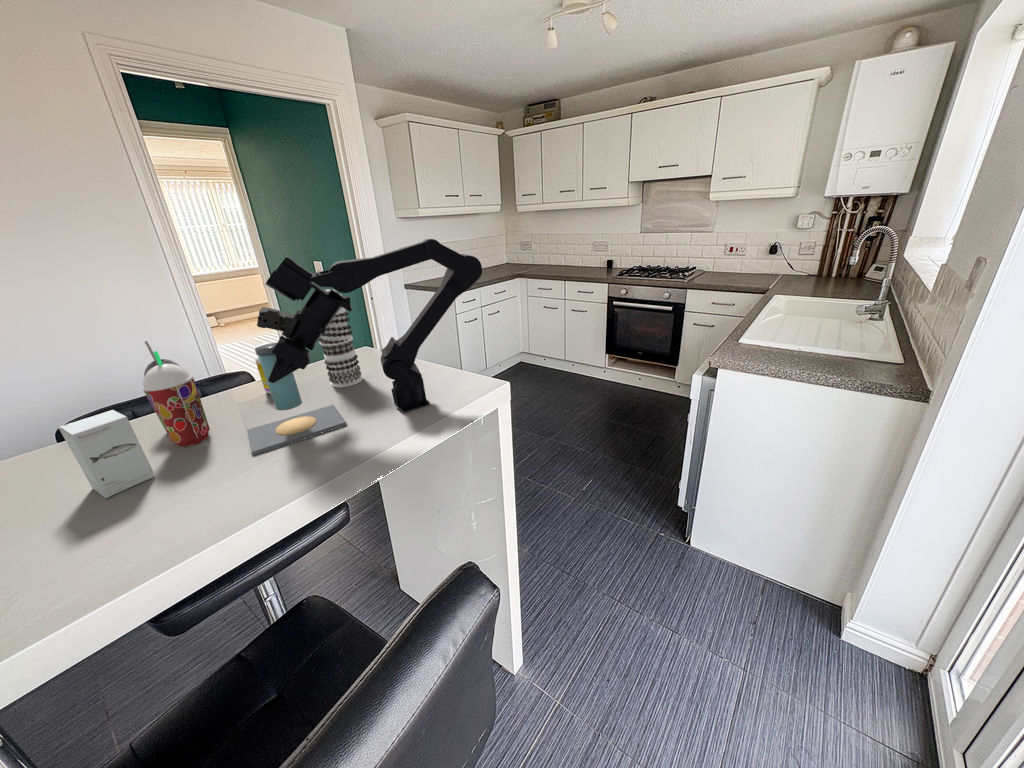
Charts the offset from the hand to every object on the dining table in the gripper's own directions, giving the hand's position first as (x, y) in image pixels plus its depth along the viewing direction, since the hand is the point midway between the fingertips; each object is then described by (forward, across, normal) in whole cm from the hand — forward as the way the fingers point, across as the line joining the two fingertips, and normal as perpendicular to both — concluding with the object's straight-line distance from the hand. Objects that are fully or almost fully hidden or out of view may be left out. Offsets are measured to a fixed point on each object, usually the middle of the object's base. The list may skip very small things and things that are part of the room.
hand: (272, 377), depth 84 cm
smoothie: (+23, -6, -5) cm, 24 cm away
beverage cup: (+26, -19, -9) cm, 33 cm away
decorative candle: (+1, -25, +17) cm, 31 cm away
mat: (+8, 0, +10) cm, 13 cm away
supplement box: (+28, +7, -10) cm, 30 cm away
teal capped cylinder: (+4, 0, +6) cm, 7 cm away
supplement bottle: (+13, -29, +5) cm, 32 cm away
